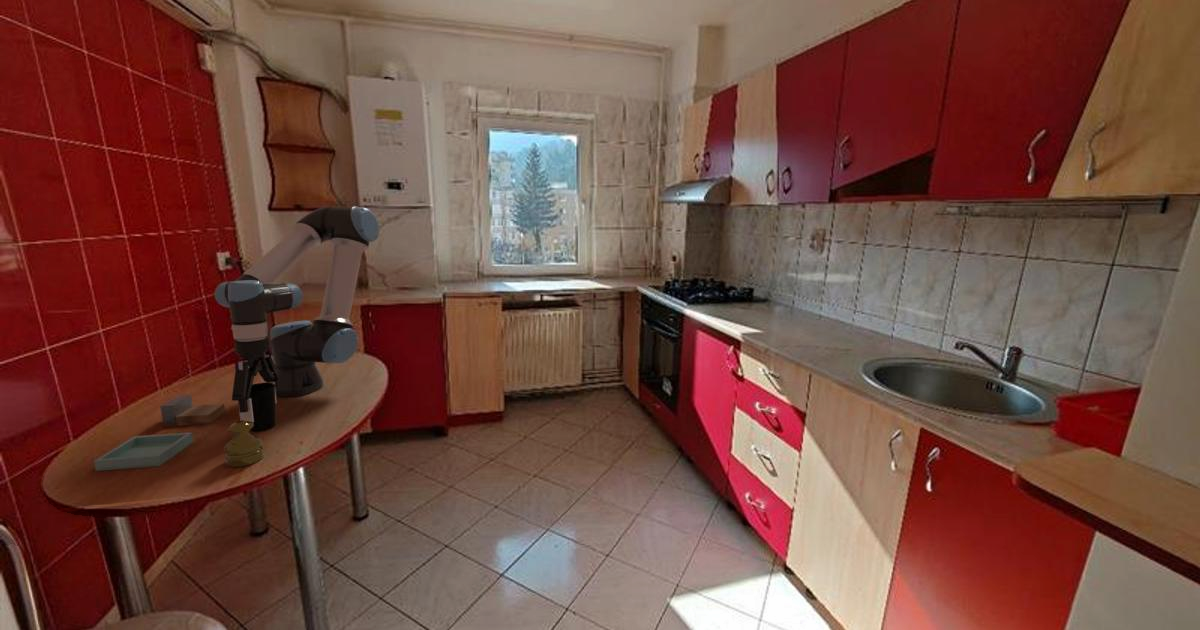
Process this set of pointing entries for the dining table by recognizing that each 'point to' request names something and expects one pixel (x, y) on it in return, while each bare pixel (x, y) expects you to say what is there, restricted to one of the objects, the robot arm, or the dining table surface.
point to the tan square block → (200, 414)
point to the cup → (263, 406)
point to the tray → (144, 451)
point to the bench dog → (175, 409)
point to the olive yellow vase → (243, 445)
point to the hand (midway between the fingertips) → (259, 412)
